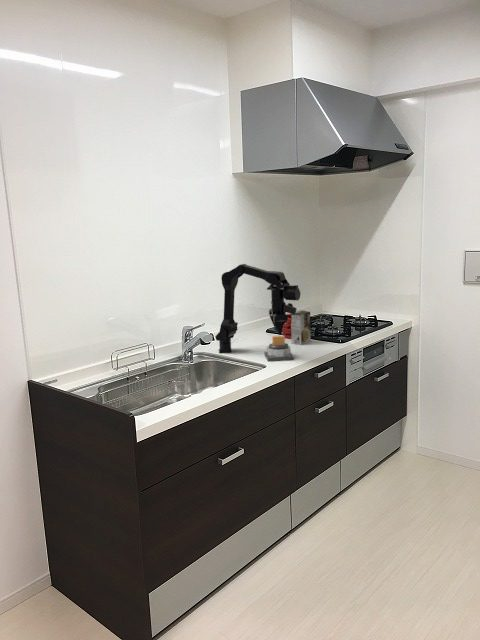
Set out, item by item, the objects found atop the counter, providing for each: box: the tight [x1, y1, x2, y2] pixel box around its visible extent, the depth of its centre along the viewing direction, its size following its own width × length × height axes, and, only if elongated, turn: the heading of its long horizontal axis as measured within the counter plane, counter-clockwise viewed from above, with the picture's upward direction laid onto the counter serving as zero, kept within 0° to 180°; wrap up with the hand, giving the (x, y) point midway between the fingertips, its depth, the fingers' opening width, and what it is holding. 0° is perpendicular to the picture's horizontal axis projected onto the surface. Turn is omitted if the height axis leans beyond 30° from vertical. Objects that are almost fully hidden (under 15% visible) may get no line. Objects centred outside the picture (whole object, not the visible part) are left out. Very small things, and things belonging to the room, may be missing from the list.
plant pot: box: [281, 313, 292, 340], centre depth 294 cm, size 13×13×12 cm
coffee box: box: [290, 310, 312, 346], centre depth 280 cm, size 9×6×16 cm
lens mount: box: [263, 344, 295, 362], centre depth 253 cm, size 12×12×5 cm
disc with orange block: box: [268, 335, 289, 349], centre depth 252 cm, size 9×9×7 cm
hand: (278, 332), depth 251 cm, fingers open, 9 cm apart
